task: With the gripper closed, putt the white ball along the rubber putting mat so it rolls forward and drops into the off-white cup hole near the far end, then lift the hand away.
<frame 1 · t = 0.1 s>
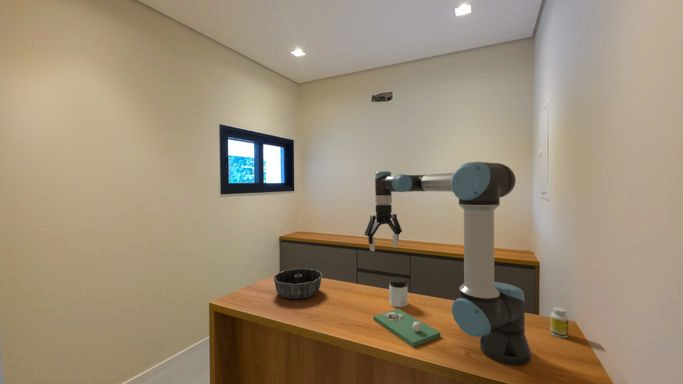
hand: (384, 249, 132), 28 cm above the worktop, fingers open, 13 cm apart
jar: (398, 304, 136), on the worktop
mat: (404, 327, 113), on the worktop
supplement bottle: (559, 335, 106), on the worktop
bundt pan: (298, 293, 152), on the worktop
ball: (417, 326, 107), point 3 cm above the worktop, touching mat
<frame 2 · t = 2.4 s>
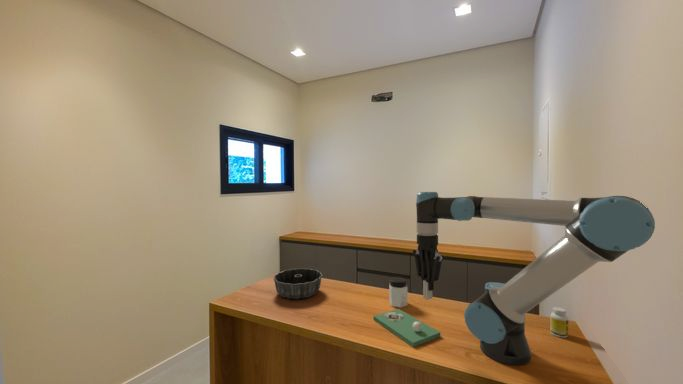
hand: (427, 297, 102), 16 cm above the worktop, fingers closed
nothing on the worktop moved.
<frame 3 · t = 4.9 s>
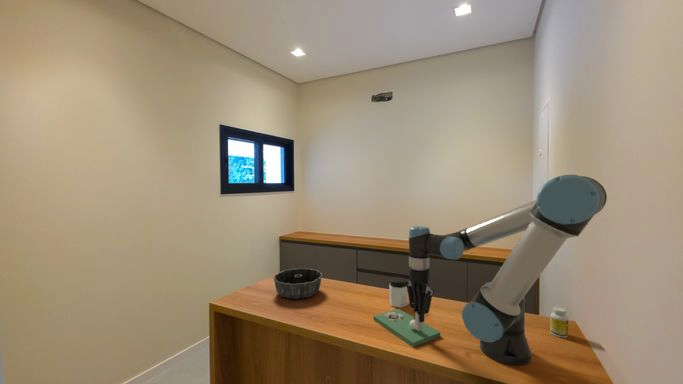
hand: (419, 328, 106), 3 cm above the worktop, fingers closed
ball: (414, 324, 108), point 3 cm above the worktop, tilted 53°, touching mat
everything else where it was.
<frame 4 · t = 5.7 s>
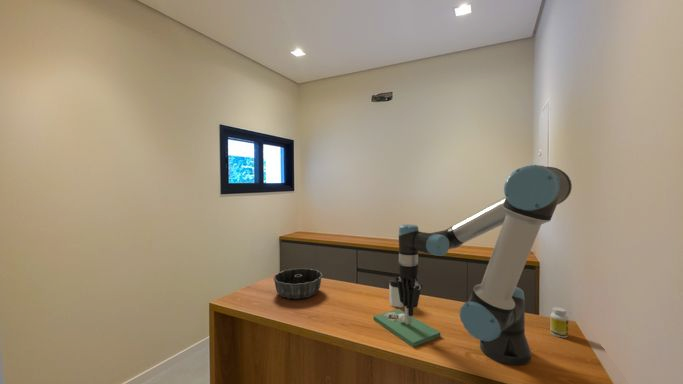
hand: (408, 322, 111), 3 cm above the worktop, fingers closed
ball: (402, 318, 114), point 3 cm above the worktop, tilted 105°, touching mat
everything else where it was.
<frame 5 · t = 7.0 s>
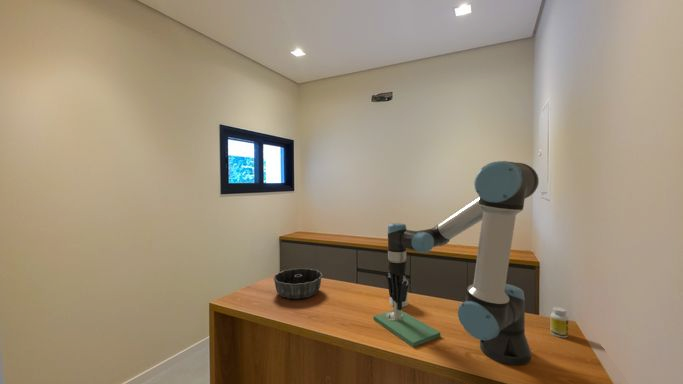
hand: (397, 316, 117), 3 cm above the worktop, fingers closed
ball: (394, 316, 119), point 2 cm above the worktop, tilted 90°, touching gripper
everything else where it was.
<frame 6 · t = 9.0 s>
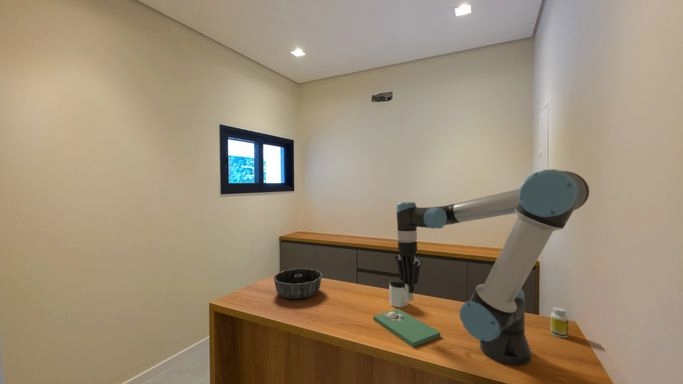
hand: (409, 300, 111), 12 cm above the worktop, fingers closed
ball: (392, 316, 119), point 2 cm above the worktop, tilted 115°
everything else where it was.
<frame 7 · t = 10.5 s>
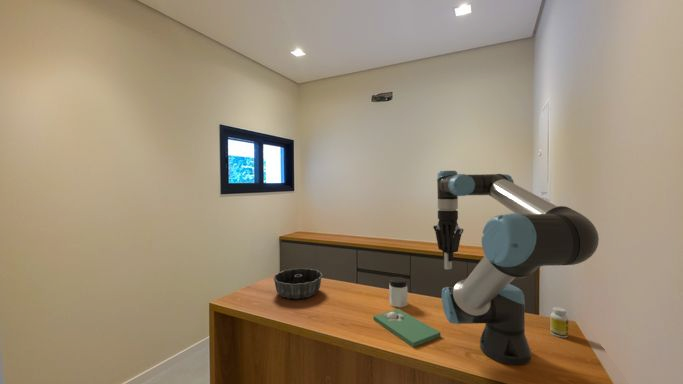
hand: (448, 268, 111), 24 cm above the worktop, fingers closed
nothing on the worktop moved.
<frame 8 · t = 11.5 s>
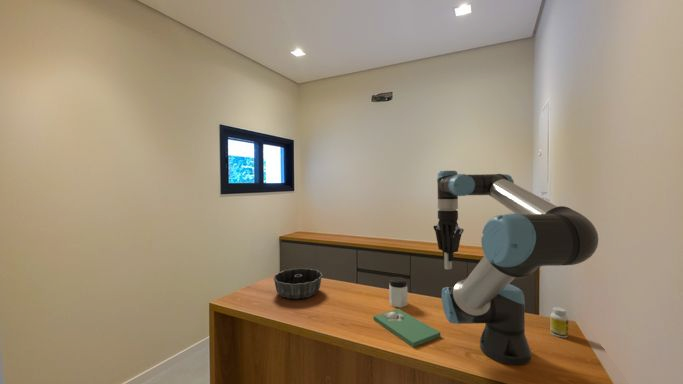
hand: (448, 268, 111), 24 cm above the worktop, fingers closed
nothing on the worktop moved.
at the end: ball 0.3 cm from the target spot on the mat, point 1.8 cm above the mat's base; the gripper is holding nothing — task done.
